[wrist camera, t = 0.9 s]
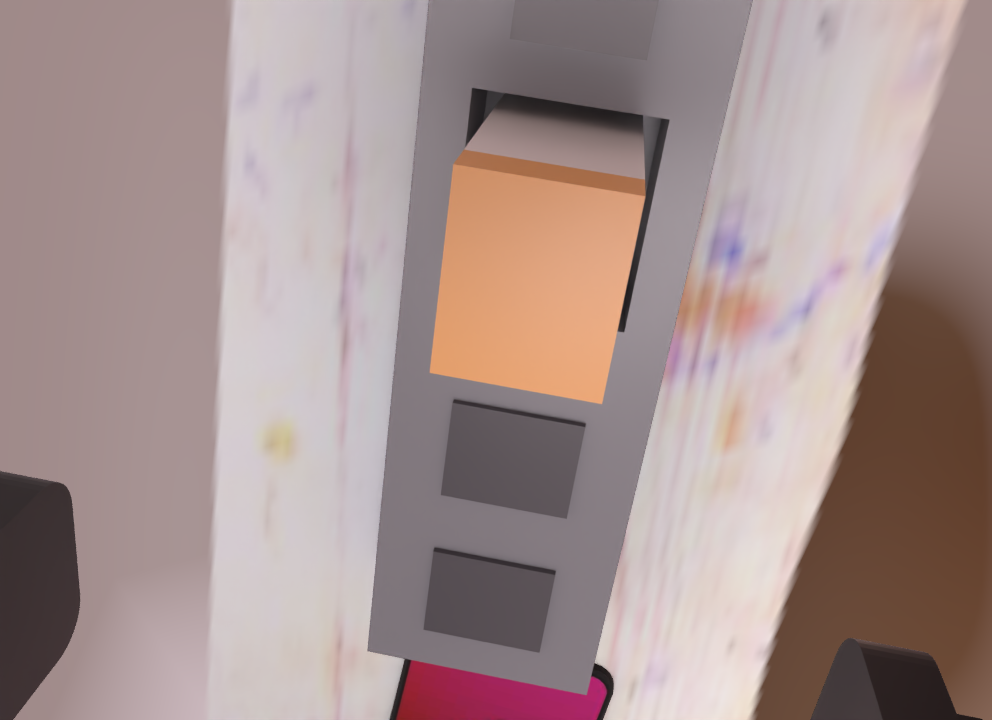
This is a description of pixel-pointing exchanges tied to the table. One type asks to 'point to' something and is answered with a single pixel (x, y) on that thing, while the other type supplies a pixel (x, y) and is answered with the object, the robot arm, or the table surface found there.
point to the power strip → (525, 414)
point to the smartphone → (492, 696)
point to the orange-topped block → (540, 247)
